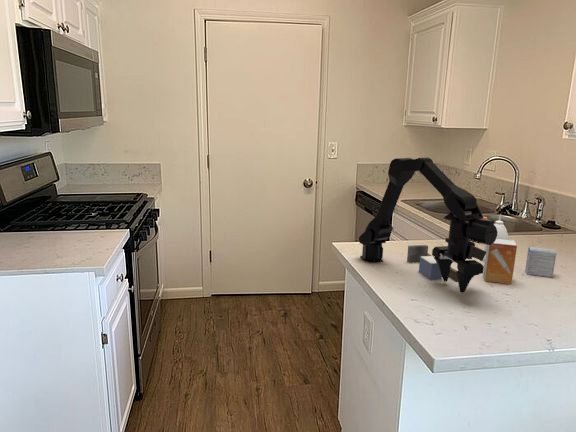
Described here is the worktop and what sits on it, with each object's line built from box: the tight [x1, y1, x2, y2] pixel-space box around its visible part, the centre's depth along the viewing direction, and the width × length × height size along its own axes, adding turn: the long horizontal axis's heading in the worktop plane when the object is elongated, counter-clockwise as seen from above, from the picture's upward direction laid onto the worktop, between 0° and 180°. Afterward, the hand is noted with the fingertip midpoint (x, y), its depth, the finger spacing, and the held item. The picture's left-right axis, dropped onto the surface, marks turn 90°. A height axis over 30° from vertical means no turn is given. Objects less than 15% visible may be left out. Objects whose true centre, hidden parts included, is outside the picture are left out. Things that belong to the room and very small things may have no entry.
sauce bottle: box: [484, 213, 510, 251], centre depth 168 cm, size 8×8×18 cm
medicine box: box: [525, 246, 557, 278], centre depth 157 cm, size 8×4×9 cm, turn 71°
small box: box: [482, 239, 518, 285], centre depth 150 cm, size 8×6×13 cm
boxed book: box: [418, 255, 443, 281], centre depth 153 cm, size 4×8×6 cm, turn 12°
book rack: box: [406, 244, 458, 283], centre depth 158 cm, size 8×22×6 cm, turn 12°
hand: (453, 286), depth 140 cm, fingers open, 9 cm apart
